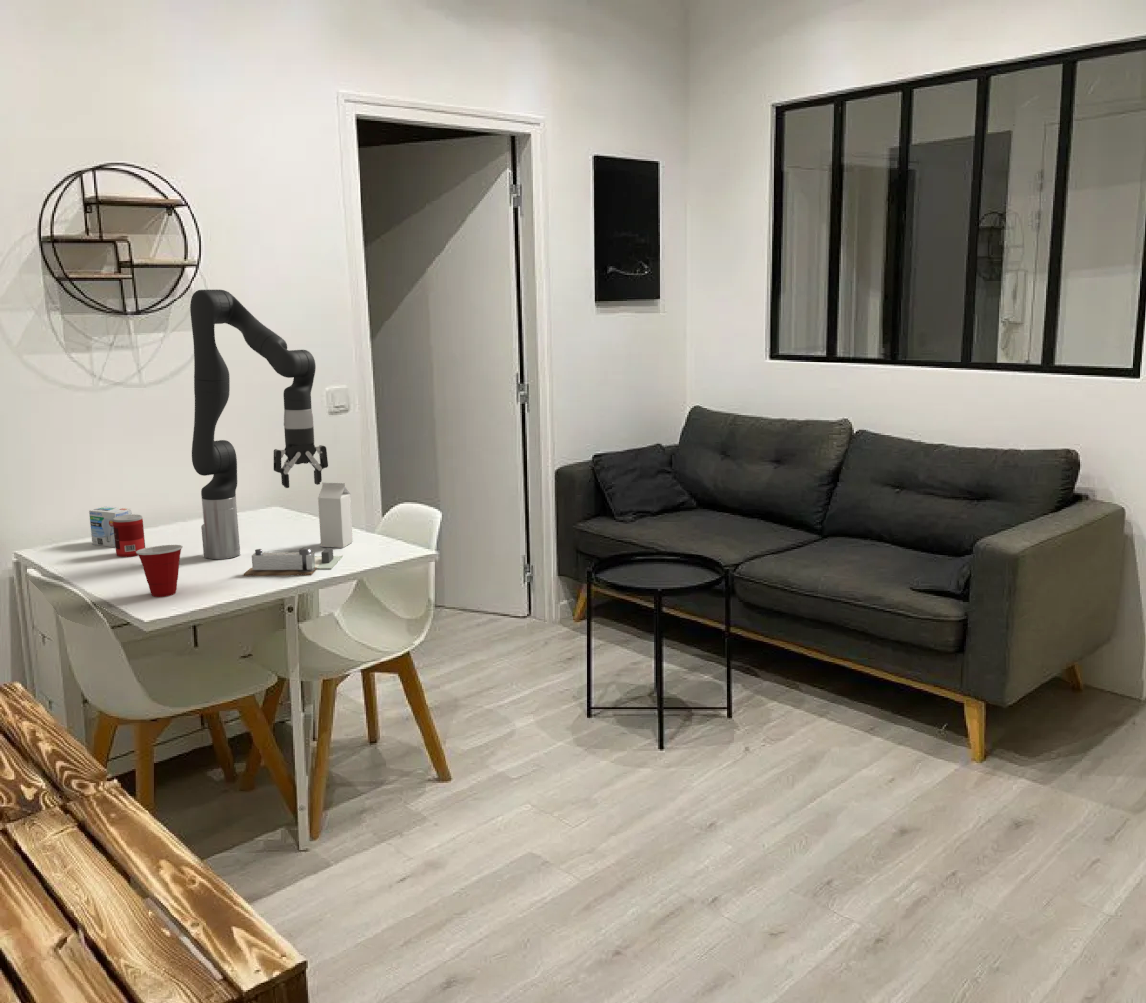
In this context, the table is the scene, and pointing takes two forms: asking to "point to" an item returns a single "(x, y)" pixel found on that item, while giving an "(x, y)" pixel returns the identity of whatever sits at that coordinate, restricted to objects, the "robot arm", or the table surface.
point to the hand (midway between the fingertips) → (302, 485)
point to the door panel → (326, 565)
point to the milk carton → (335, 515)
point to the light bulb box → (105, 524)
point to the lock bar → (284, 560)
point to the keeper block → (327, 555)
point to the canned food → (128, 535)
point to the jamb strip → (278, 572)
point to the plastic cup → (161, 568)
